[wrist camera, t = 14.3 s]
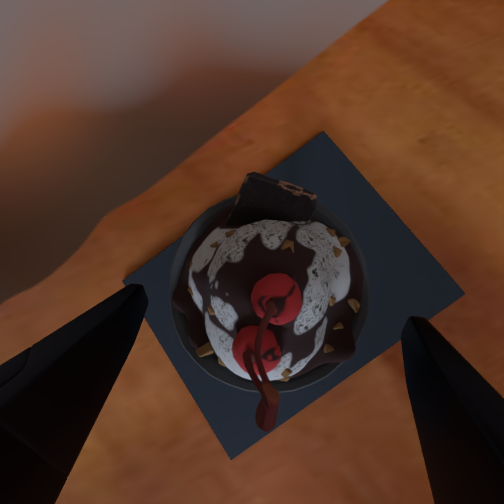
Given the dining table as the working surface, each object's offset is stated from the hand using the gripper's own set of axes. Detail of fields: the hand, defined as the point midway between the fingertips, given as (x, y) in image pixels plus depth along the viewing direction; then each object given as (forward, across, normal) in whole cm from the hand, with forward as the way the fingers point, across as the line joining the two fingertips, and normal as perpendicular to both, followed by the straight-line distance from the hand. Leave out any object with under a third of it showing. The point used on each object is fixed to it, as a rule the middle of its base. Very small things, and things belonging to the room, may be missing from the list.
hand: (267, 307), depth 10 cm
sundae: (+7, 0, +6) cm, 10 cm away
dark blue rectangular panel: (+8, 0, +6) cm, 10 cm away
